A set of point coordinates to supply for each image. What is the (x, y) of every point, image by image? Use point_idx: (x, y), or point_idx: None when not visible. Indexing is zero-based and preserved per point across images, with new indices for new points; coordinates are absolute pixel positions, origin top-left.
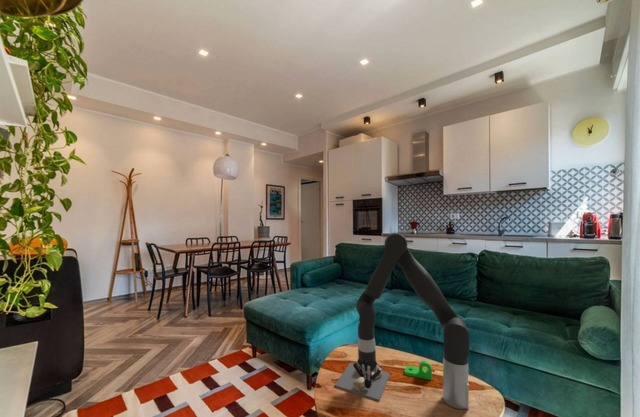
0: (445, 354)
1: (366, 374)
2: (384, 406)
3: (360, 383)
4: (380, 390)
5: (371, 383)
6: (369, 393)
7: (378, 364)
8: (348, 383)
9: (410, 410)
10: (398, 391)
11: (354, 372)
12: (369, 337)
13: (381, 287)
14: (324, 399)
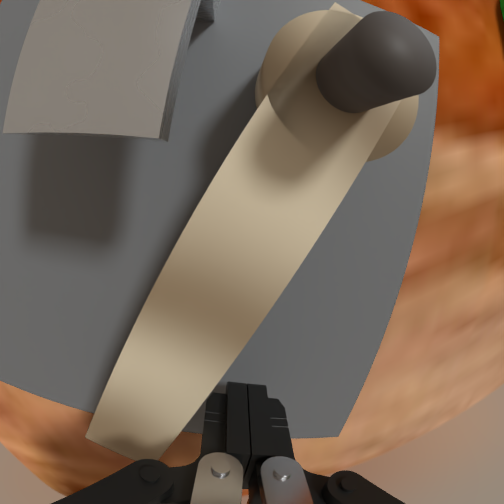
0: None
1: (221, 495)
2: (362, 442)
3: (162, 450)
4: (360, 350)
5: (285, 425)
6: None
7: (429, 56)
8: (42, 343)
9: (480, 397)
10: (481, 271)
11: None
12: None
13: None
14: (25, 455)
